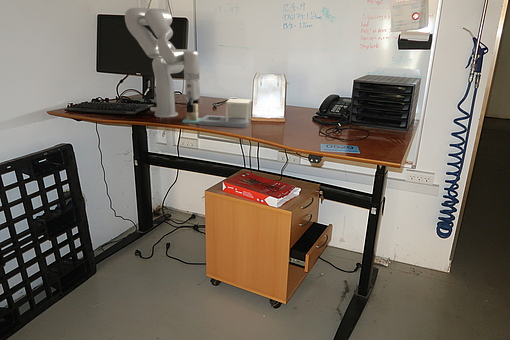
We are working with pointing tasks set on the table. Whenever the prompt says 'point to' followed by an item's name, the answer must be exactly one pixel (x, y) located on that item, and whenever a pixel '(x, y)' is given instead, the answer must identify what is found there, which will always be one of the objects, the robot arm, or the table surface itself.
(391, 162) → the table surface
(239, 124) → the puzzle board
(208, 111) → the table surface
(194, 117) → the maple block
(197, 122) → the teal mat
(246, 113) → the sliding cover
